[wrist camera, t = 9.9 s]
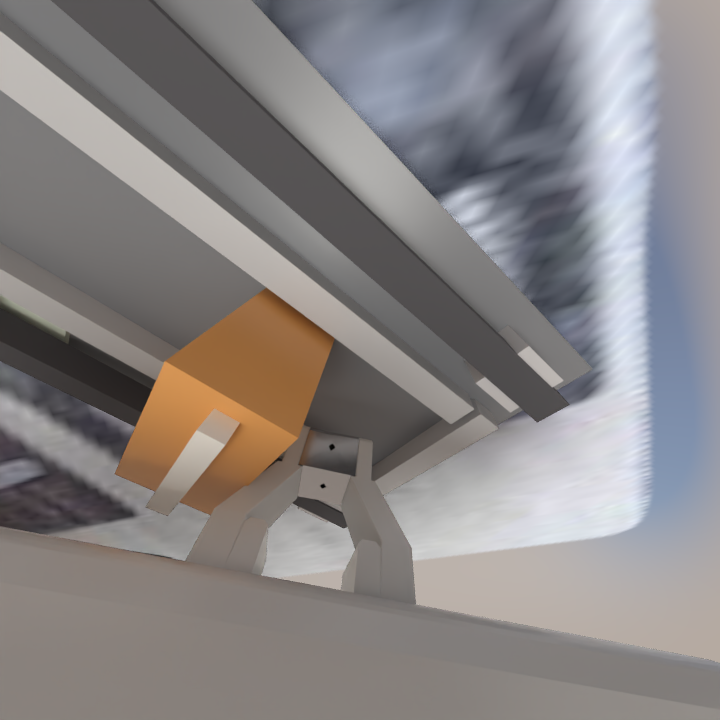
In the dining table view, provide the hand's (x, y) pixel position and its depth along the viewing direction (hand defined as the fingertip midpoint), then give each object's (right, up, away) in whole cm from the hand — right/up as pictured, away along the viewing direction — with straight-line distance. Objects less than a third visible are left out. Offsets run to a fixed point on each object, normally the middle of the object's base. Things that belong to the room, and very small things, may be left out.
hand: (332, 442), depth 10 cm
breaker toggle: (-3, +3, +1) cm, 4 cm away
